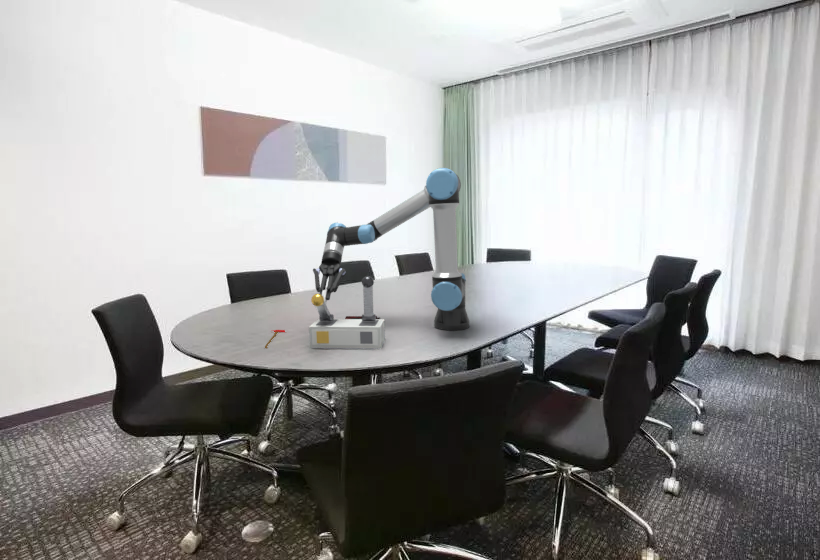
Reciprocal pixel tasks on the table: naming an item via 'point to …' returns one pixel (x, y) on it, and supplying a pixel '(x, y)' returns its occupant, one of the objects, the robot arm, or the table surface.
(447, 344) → the table surface
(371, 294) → the lever black
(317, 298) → the lever amber
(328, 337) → the console
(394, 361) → the table surface
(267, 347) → the axe
